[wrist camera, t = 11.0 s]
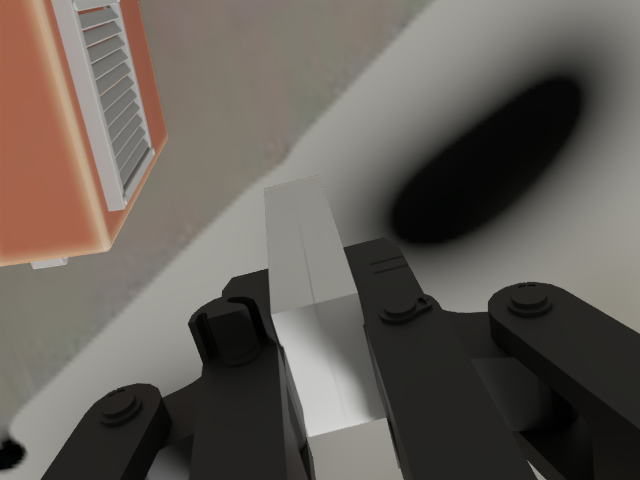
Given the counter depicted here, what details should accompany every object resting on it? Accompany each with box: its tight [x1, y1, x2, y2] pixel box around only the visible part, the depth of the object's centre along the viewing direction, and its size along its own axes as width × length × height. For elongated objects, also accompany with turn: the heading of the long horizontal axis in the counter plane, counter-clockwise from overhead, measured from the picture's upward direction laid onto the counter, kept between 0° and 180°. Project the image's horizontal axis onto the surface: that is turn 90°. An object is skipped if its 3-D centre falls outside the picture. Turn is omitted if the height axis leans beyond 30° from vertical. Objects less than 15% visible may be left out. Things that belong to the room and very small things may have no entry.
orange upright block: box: [0, 0, 168, 269], centre depth 35 cm, size 21×7×15 cm
